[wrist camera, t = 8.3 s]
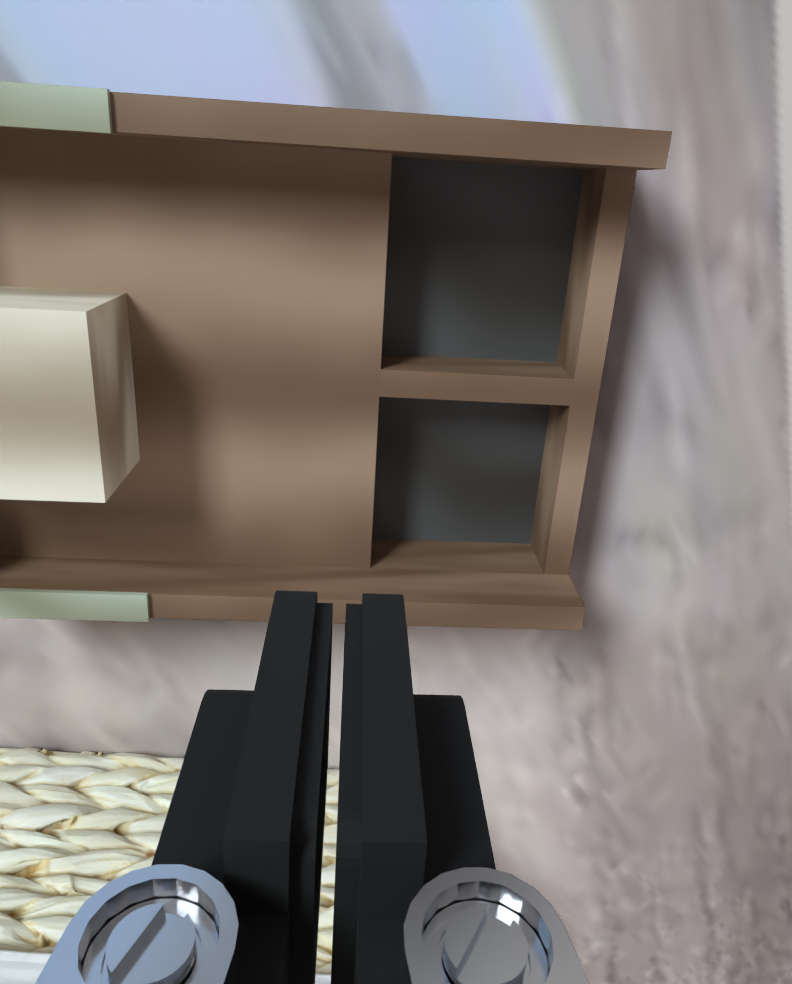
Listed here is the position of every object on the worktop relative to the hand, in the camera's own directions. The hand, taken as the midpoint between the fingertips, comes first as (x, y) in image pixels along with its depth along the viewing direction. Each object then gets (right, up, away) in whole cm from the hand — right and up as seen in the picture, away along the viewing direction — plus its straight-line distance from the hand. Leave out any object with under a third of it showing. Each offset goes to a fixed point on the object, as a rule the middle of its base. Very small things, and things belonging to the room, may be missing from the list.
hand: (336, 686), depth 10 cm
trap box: (-4, +8, +19) cm, 21 cm away
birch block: (-11, +7, +16) cm, 21 cm away
